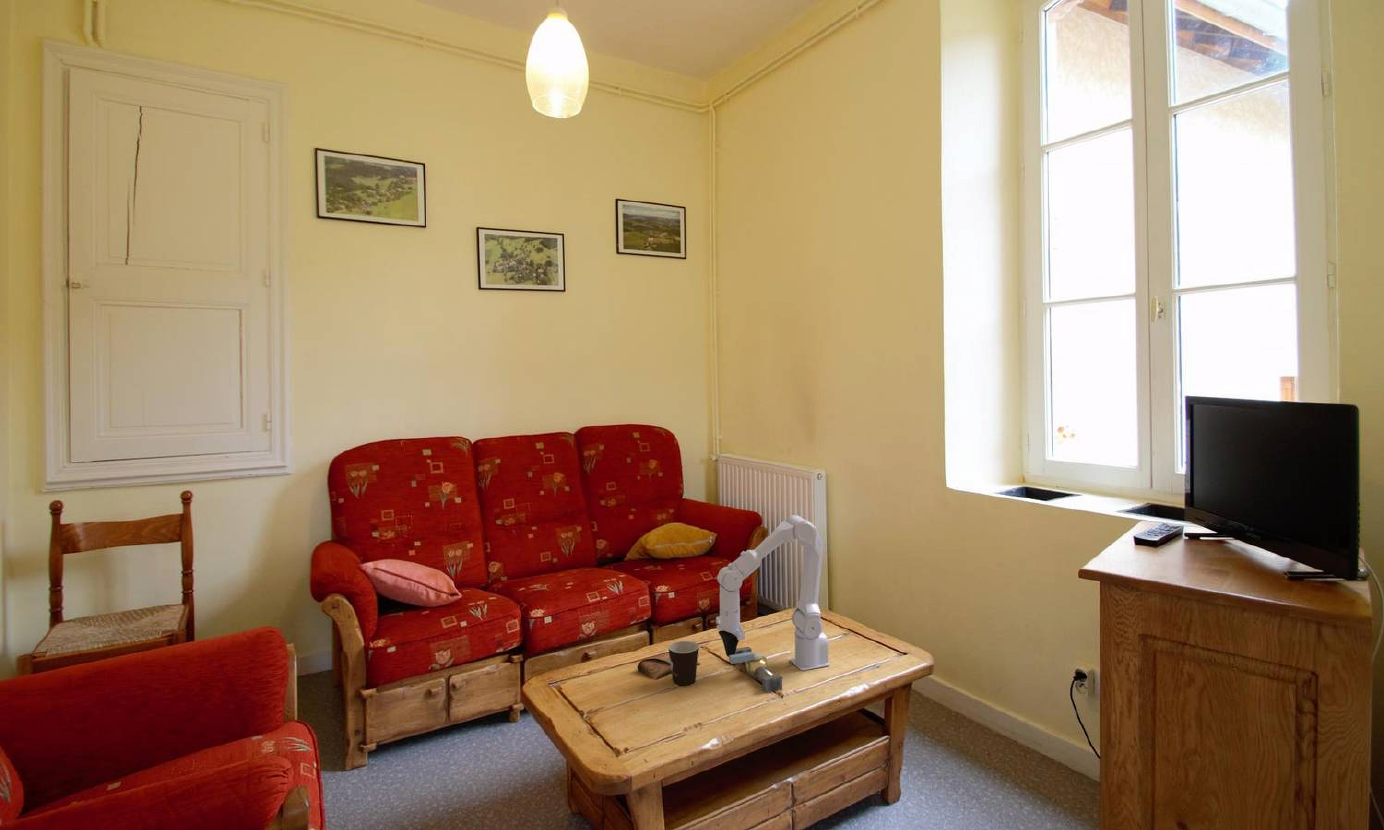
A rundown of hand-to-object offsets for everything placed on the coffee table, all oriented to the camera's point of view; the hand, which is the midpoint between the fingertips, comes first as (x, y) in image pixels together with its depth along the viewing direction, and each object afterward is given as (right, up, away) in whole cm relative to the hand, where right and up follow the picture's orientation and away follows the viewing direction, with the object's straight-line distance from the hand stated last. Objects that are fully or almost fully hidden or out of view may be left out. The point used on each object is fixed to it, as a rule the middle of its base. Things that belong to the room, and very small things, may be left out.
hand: (730, 655), depth 195 cm
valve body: (+7, -5, -1) cm, 9 cm away
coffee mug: (-13, -6, -3) cm, 15 cm away
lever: (+4, 0, -3) cm, 5 cm away
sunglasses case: (-18, -6, +5) cm, 19 cm away
